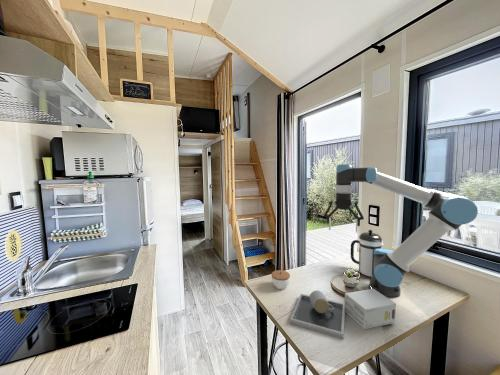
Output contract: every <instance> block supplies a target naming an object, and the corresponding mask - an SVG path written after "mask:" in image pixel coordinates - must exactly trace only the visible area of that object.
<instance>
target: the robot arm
mask: <svg viewBox="0 0 500 375" xmlns="http://www.w3.org/2000/svg"><path fill="white" fill-rule="evenodd" d="M335 173H336V174H335V175H336V176H335V178H336V184H335V185H336V186H335V192H336V193H335V200H330V202H329V205H328V207H327V209H326V211H325V212H324V215H323V217H324V218H326V223H327V224H328V230H329V231H330V230H332V217H331V216H333V215H334V214H335V213H336V211H338V210H346V211H347V210H348V211H349V212H350V213H351V214H352V215H353V216H354V217H355V233H358V227H360V226H361V220H362V221H363V220H364V219H365V218H364V215H363V213H362V212H361V210H360V208H359V205H358V201H352V194H351V192H352V183H353V182H354V183H367V184H371V185H372V186H375V187H379V188H381V189H383V190H386V191H389V192H390V193H393V194H396V195H399V196H401V197H404V198H407V199H409V200H411V201H415V202H417V203H420V204H421V206H422V207H425V208H427V209H429V211H428V218H427V219H426V220H425V221H424V222H423V223H422V224H421V225H419V227H417V228H416V229H415V230H414V231H413V232H412V233H411V234H410V235H409V236H408V237H407V238H406V239H405V240H404V241H403V242H402V243H401V244H400V245H399V246H397V247H396V248H395V249H394V250H391V249H386V248H381V249H375V250H374V253H373V254H374V262H373V276H372V277H371V278H370V280H369V285H370V286H371V287H372V289H375V290H376V291H378V292H379V293H381V294H382V295H384V296H386V297H391V298H392V297H393V298H394V297H399V296H401V292H402V291H401V290H402V288H401V286H400V285H401V284H402V283H403V278H404V276H406V275H407V274H408V273H410V266H411V265H412V264H413V263H414V262H415V261H416V260H418V259H419V258H420V257H421V256H422V255H423V254H424V253H426V252H427V251H428V250H429V249H430V248H431V247H433V245H434V244H435V243H437V242H438V241H439V240H440V239H441V238H442V237H443V236H444V235H445V234H447V233H448V232H449V231H457V229H459V228H460V227H461V226H462V225H467V224H470V223H471V222H473V221H475V219H476V218H477V216H478V214H479V213H478V212H479V210H478V207H477V205H476V204H475V202H474V201H472V200H471V199H469V198H468V197H465V196H463V195H458V194H456V193H449V192H443V191H439V190H436V189H433V188H432V189H428V188H425V187H422V186H419V185H415V184H414V183H410V182H408V181H405V180H401V179H399V178H396V177H393V176H390V175H388V174H385V173H382V172H379V171H378V169H377V167H352V164H349V163H348V164H345V163H344V164H338V165H336V172H335ZM333 205H335V207H334V209H333V210H332V211H331V208H332V206H333ZM351 206H354V207H355V209H356V212H358V215H357V213H356V212H355V211H354V210H353V209H352V207H351ZM330 211H331V212H330ZM329 212H330V213H329ZM328 213H329V214H328ZM370 286H369V287H370Z"/></svg>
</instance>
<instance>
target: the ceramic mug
mask: <svg viewBox="0 0 500 375" xmlns="http://www.w3.org/2000/svg"><path fill="white" fill-rule="evenodd" d="M309 296H310V297H309V299H310V302H311V304H312V306H313V307H314V309H315V310H316V311H317V312H318V313H325V312H327V311H330V312H333V310H334V308H333V306H332V305H331V304H329V303H328V301H327V300H328V299H327V298H326V296H325V294H324V293H323V292H322V291H320V290H314V291H312V292H311V293H310V295H309Z"/></svg>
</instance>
